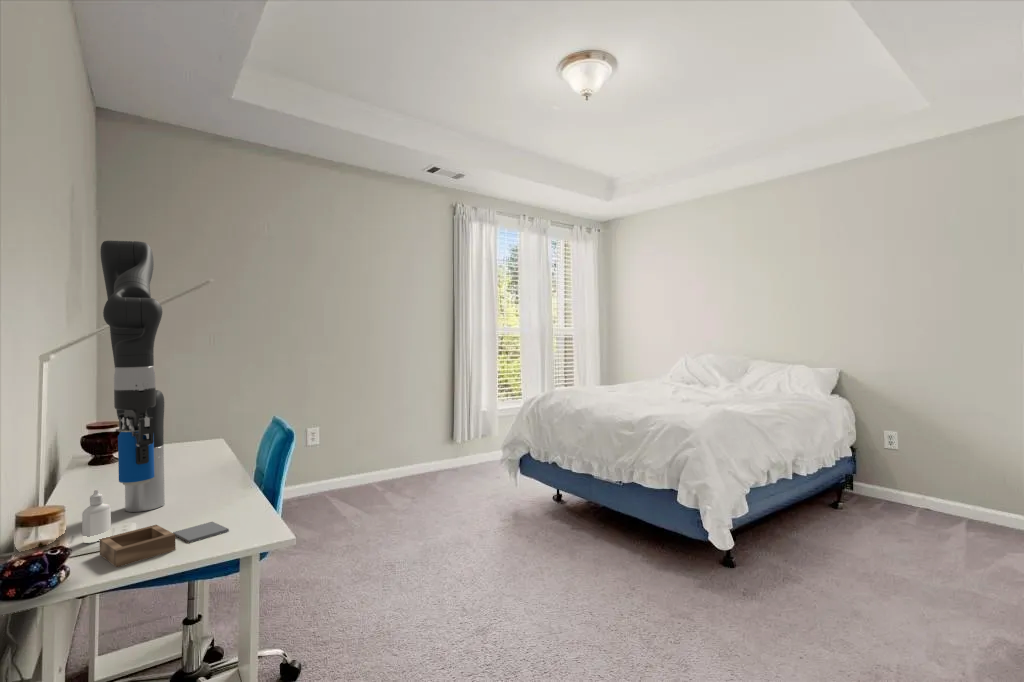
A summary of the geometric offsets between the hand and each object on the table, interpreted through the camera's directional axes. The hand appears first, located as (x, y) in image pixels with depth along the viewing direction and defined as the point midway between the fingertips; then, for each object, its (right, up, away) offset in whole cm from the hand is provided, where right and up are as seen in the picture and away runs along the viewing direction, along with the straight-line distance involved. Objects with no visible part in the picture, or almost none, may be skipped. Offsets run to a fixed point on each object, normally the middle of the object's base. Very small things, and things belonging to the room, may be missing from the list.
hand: (136, 461), depth 117 cm
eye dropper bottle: (-15, -21, +8) cm, 27 cm away
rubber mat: (+8, -20, +11) cm, 24 cm away
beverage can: (0, -5, 0) cm, 5 cm away
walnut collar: (0, -20, 0) cm, 20 cm away
